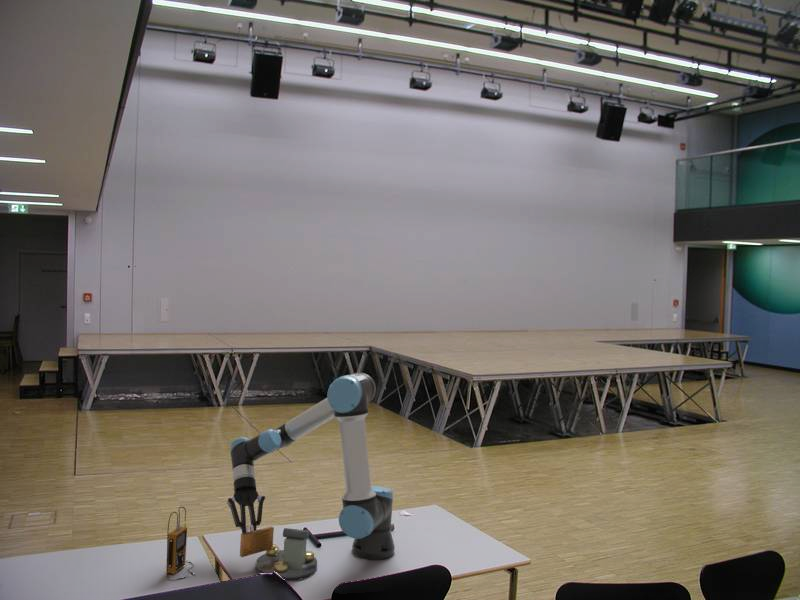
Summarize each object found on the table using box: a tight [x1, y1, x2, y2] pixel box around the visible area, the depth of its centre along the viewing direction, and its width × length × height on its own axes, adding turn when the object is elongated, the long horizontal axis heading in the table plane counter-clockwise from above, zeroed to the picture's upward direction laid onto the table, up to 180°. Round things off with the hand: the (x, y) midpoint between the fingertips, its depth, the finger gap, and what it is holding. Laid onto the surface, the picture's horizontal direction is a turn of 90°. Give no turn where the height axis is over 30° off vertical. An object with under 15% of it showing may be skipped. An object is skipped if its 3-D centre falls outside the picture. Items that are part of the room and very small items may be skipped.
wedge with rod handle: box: [282, 527, 310, 570], centre depth 230 cm, size 8×6×12 cm
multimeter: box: [166, 506, 188, 578], centre depth 225 cm, size 15×10×20 cm
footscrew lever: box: [239, 525, 280, 558], centre depth 233 cm, size 15×4×10 cm, turn 136°
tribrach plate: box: [255, 549, 318, 582], centre depth 233 cm, size 20×20×4 cm
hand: (250, 545), depth 233 cm, fingers closed
